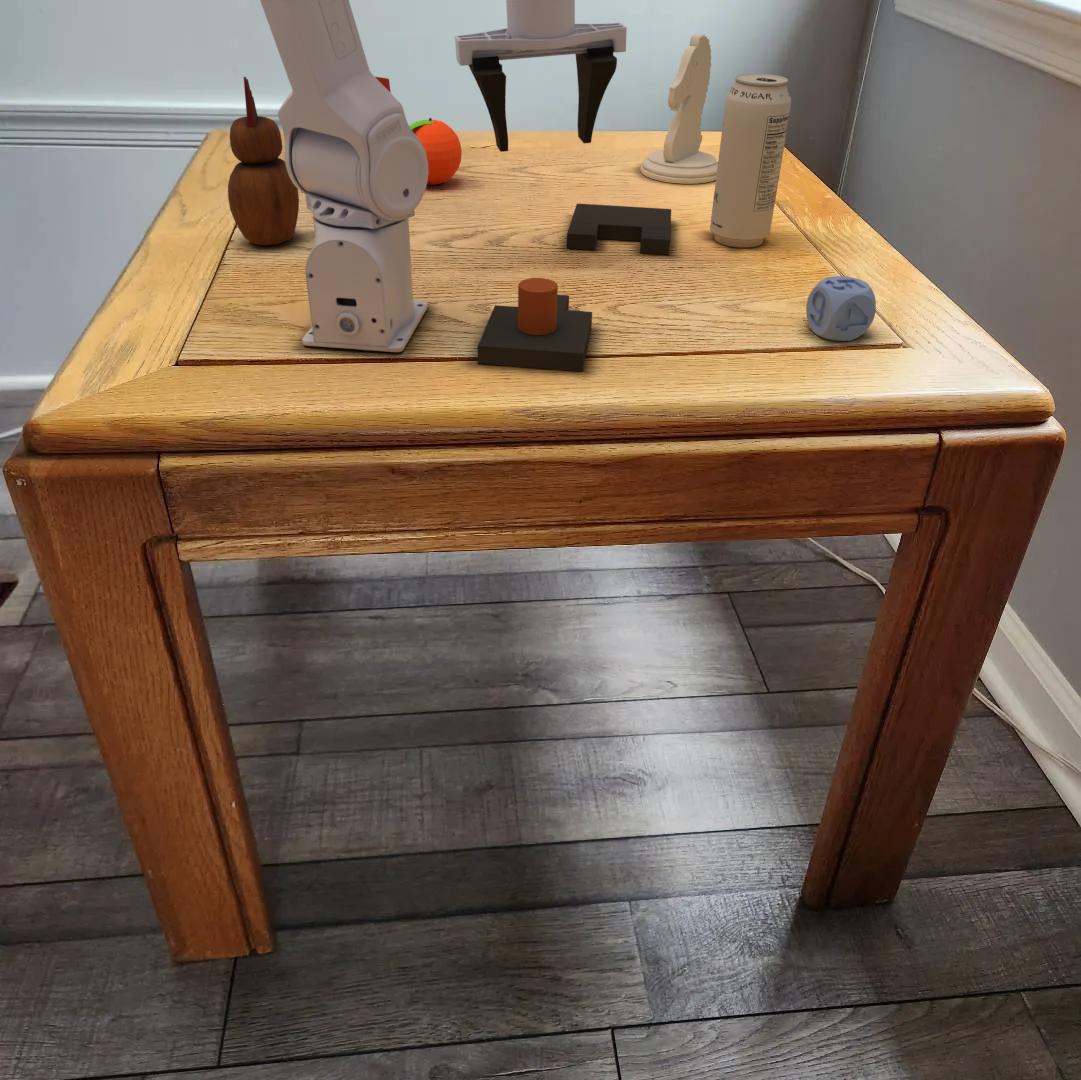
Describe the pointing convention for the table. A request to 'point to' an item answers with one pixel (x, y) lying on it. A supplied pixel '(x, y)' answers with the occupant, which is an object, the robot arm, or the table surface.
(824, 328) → the decorative dice
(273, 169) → the wooden figurine
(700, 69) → the chess piece
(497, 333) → the pad
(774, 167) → the energy drink can
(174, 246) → the table surface
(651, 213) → the base pad
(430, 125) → the clementine
